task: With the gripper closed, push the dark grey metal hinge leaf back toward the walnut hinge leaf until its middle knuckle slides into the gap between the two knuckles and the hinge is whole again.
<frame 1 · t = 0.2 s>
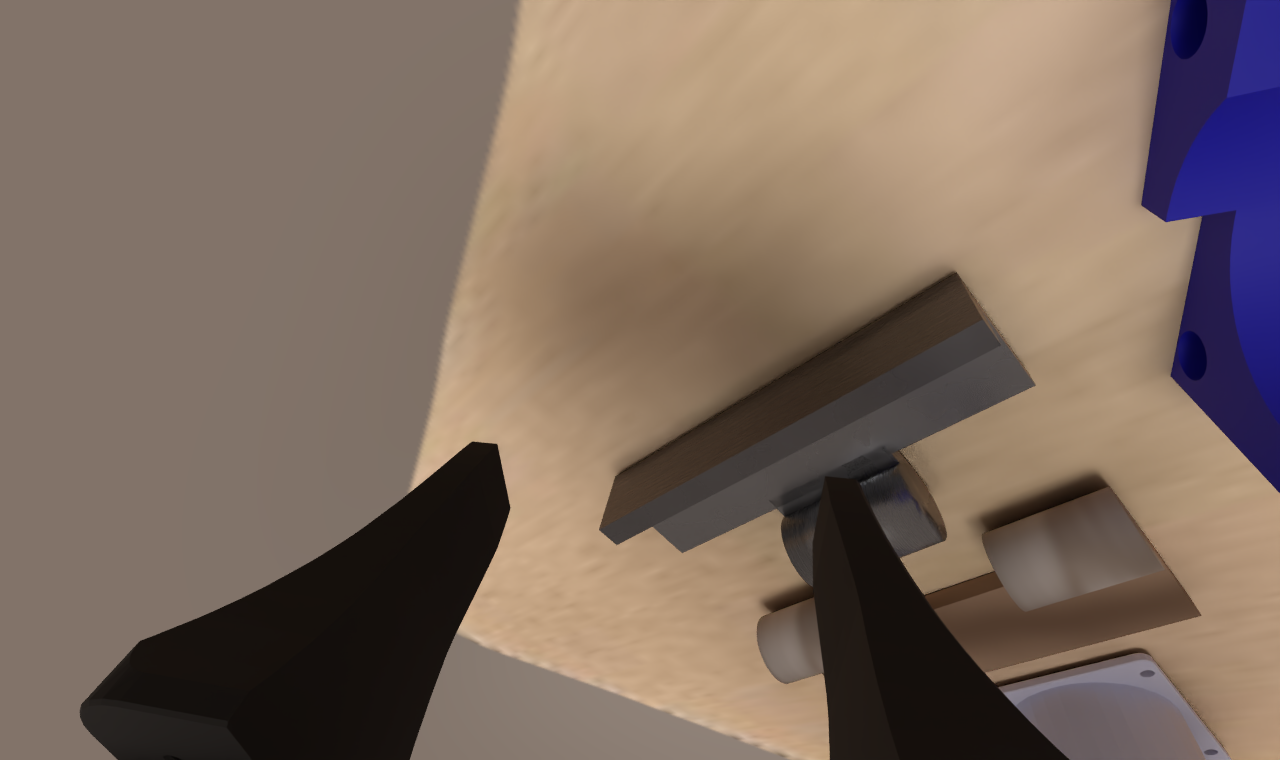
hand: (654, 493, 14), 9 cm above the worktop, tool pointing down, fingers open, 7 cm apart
blue u-shaped bracket: (1232, 183, 17), on the worktop
fixed leaf: (922, 565, 26), on the worktop
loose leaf: (822, 486, 23), point 2 cm above the worktop, slide at 5.0 cm
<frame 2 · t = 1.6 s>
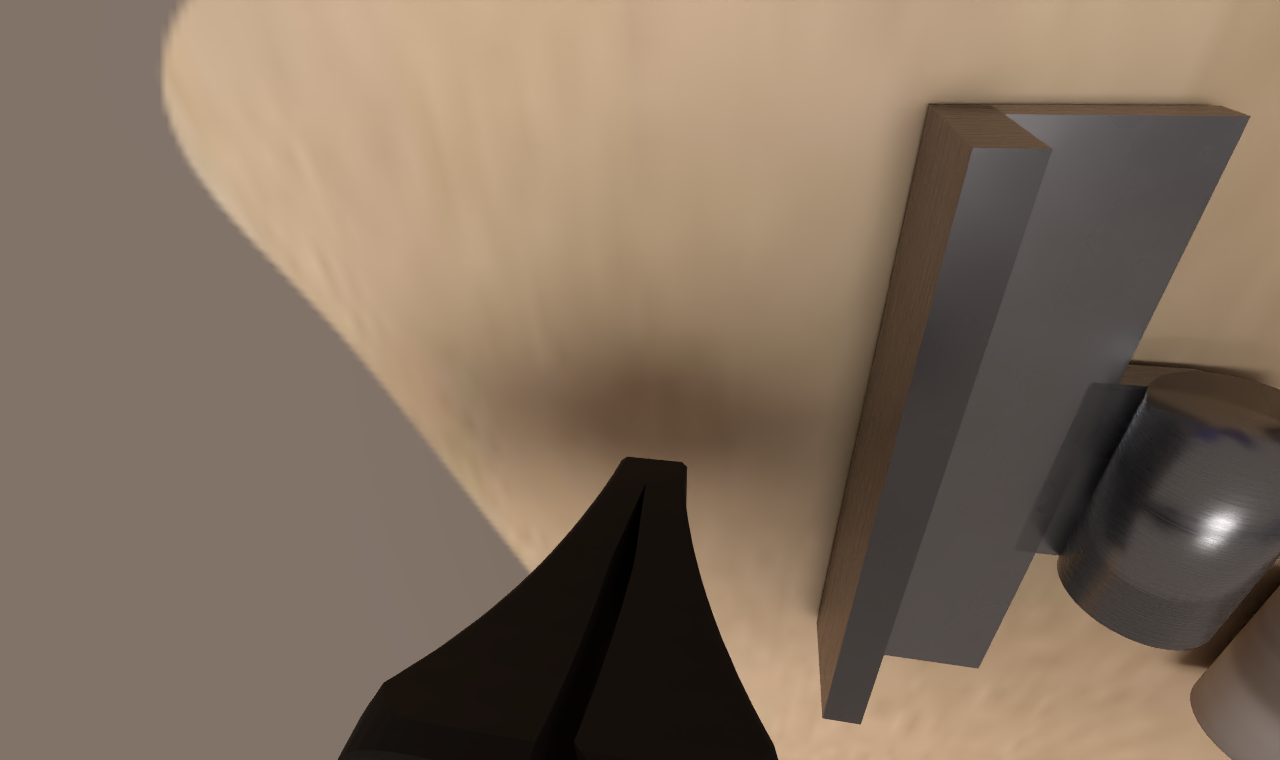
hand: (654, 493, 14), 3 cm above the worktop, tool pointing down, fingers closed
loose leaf: (1055, 498, 13), point 2 cm above the worktop, slide at 5.0 cm
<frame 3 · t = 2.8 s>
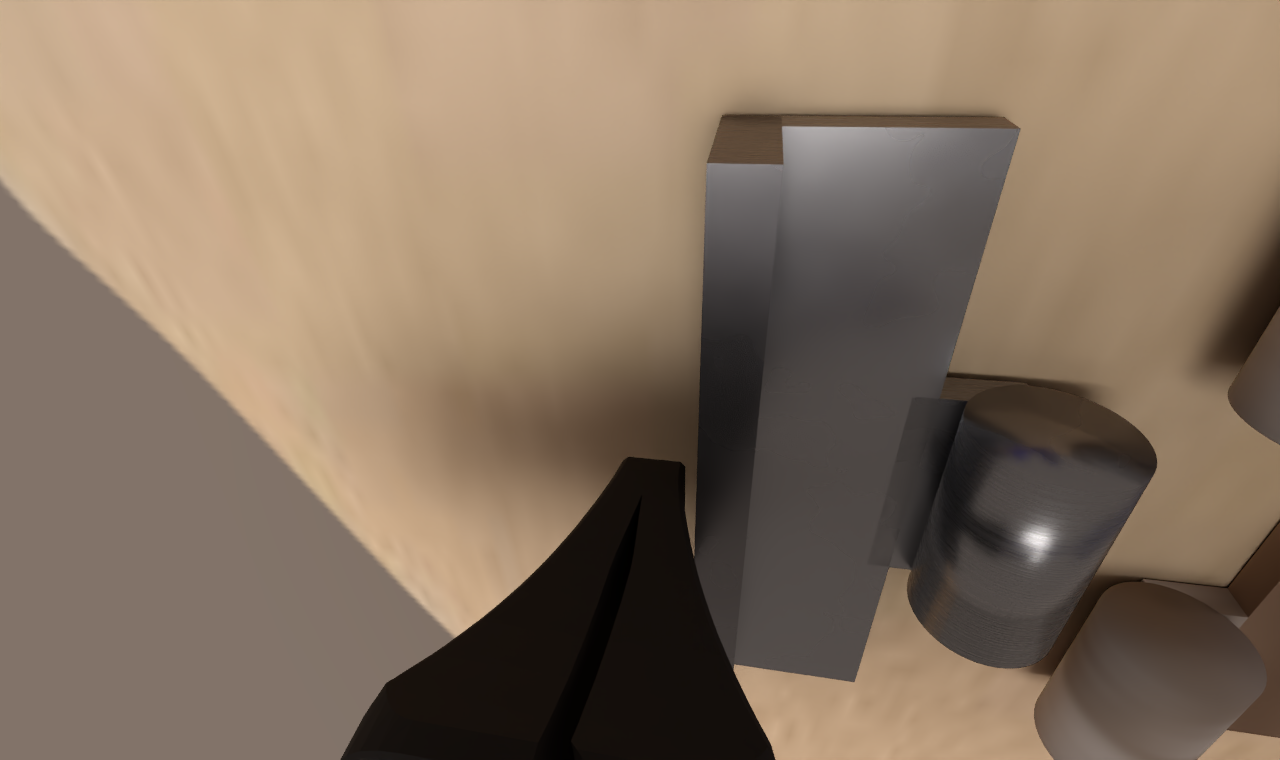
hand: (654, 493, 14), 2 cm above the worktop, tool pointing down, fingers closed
fixed leaf: (1202, 488, 13), on the worktop
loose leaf: (887, 513, 13), point 2 cm above the worktop, slide at 4.3 cm, touching gripper
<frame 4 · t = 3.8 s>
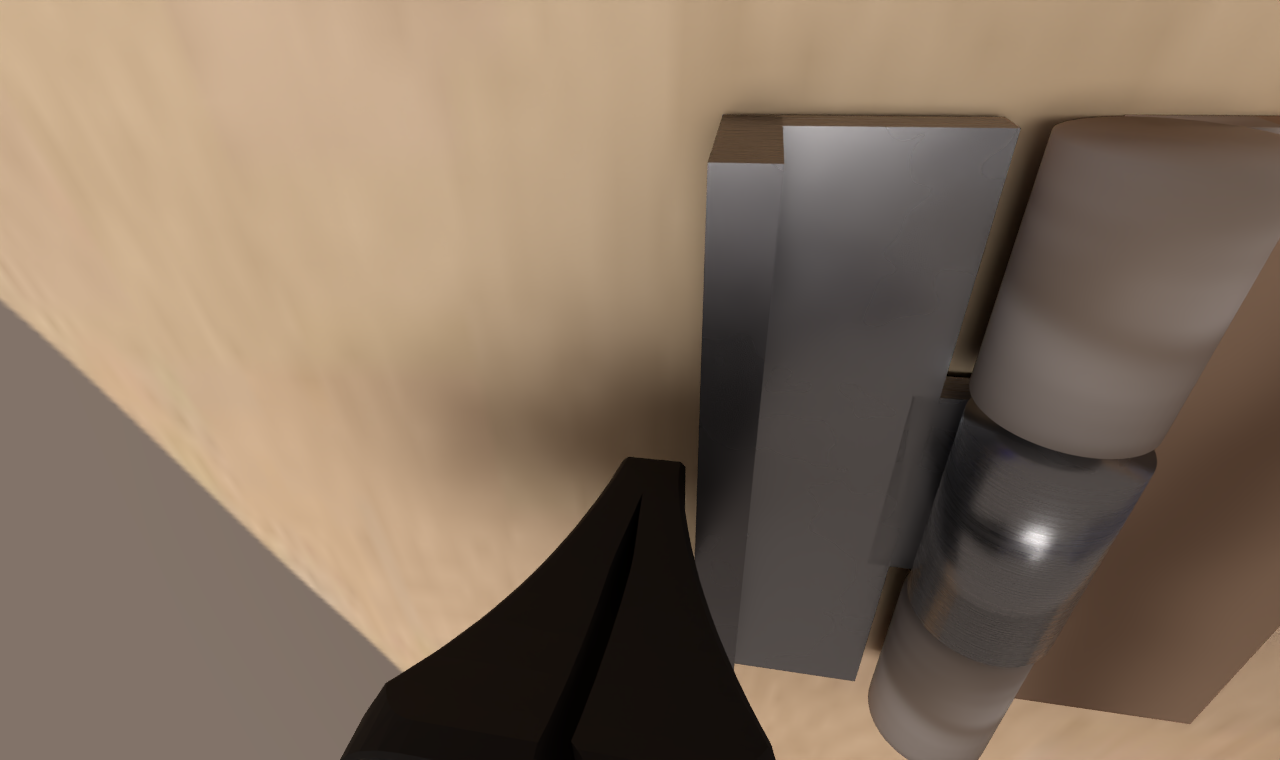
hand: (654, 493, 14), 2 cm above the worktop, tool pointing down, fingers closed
fixed leaf: (988, 468, 14), on the worktop
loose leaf: (888, 512, 13), point 2 cm above the worktop, slide at 0.0 cm, touching gripper
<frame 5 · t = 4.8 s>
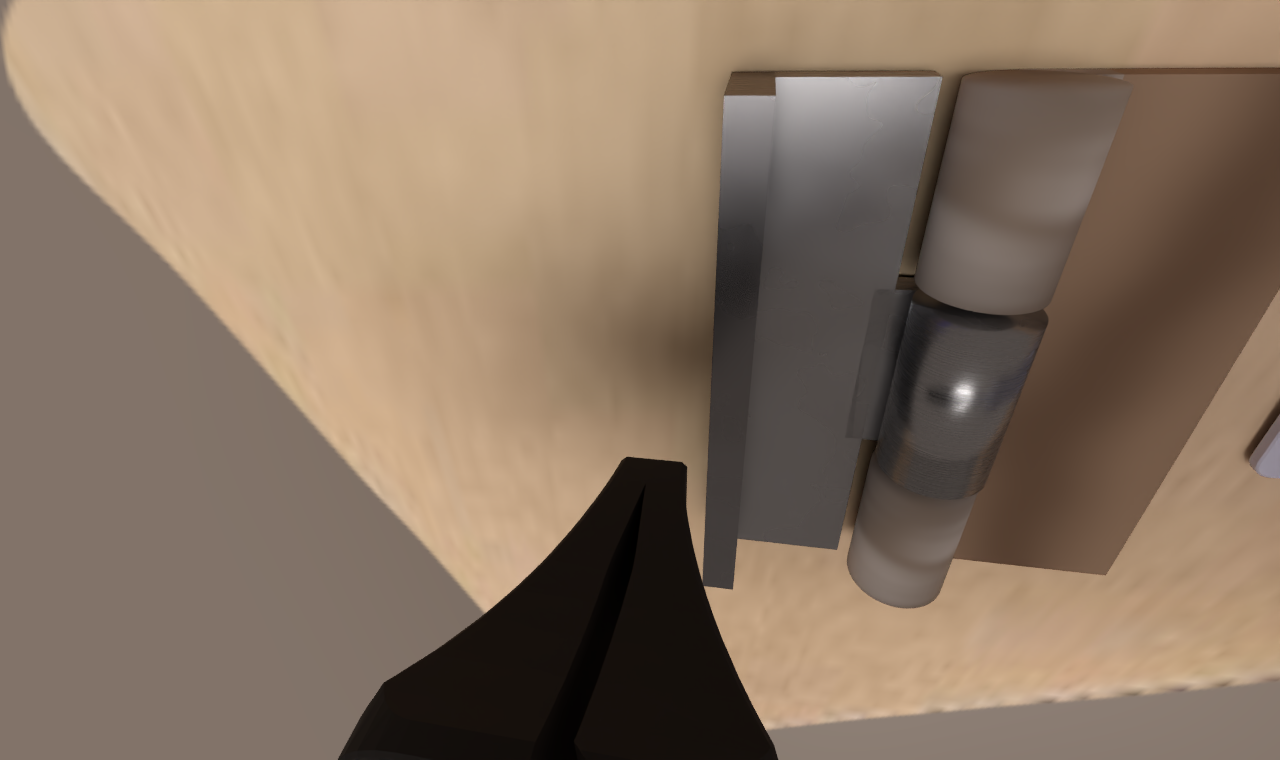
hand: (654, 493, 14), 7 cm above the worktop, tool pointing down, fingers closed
fixed leaf: (936, 355, 18), on the worktop
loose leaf: (857, 383, 17), point 2 cm above the worktop, slide at 0.0 cm
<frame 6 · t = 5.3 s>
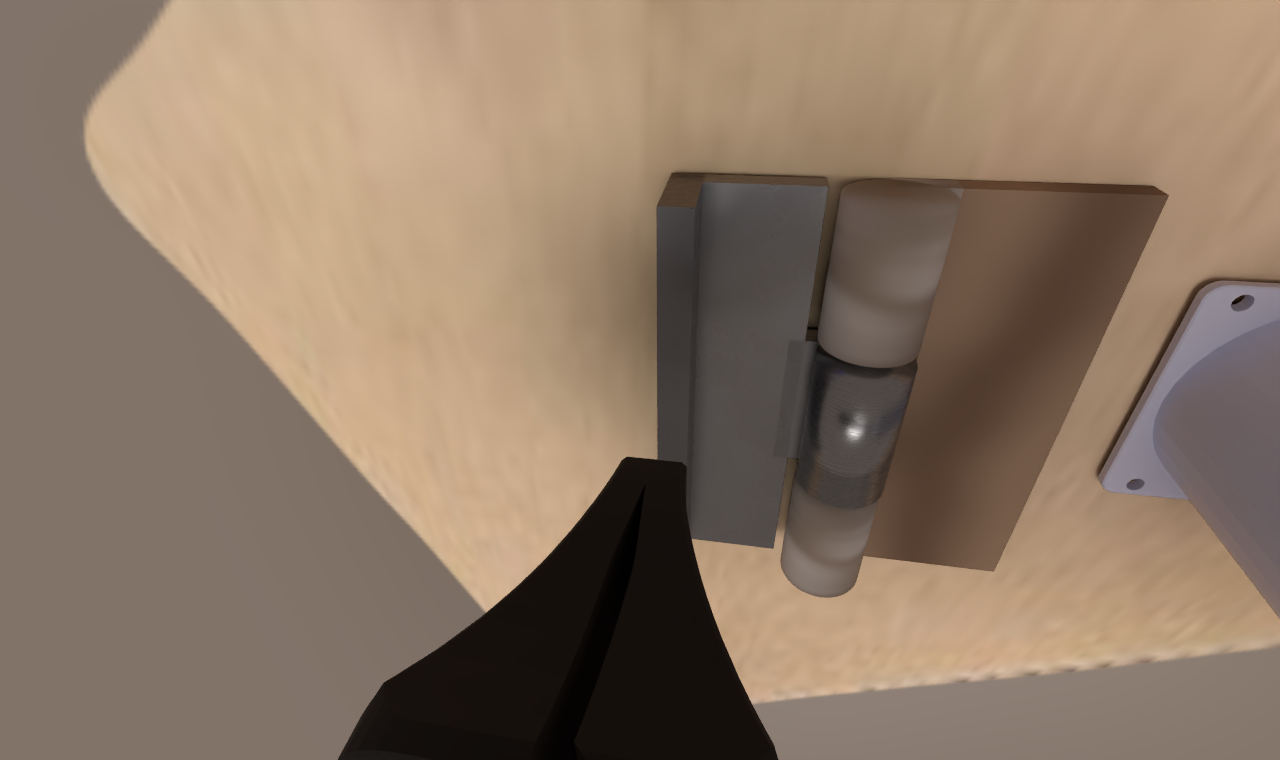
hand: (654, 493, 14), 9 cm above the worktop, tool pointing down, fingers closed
fixed leaf: (846, 390, 22), on the worktop
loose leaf: (778, 414, 21), point 2 cm above the worktop, slide at 0.0 cm
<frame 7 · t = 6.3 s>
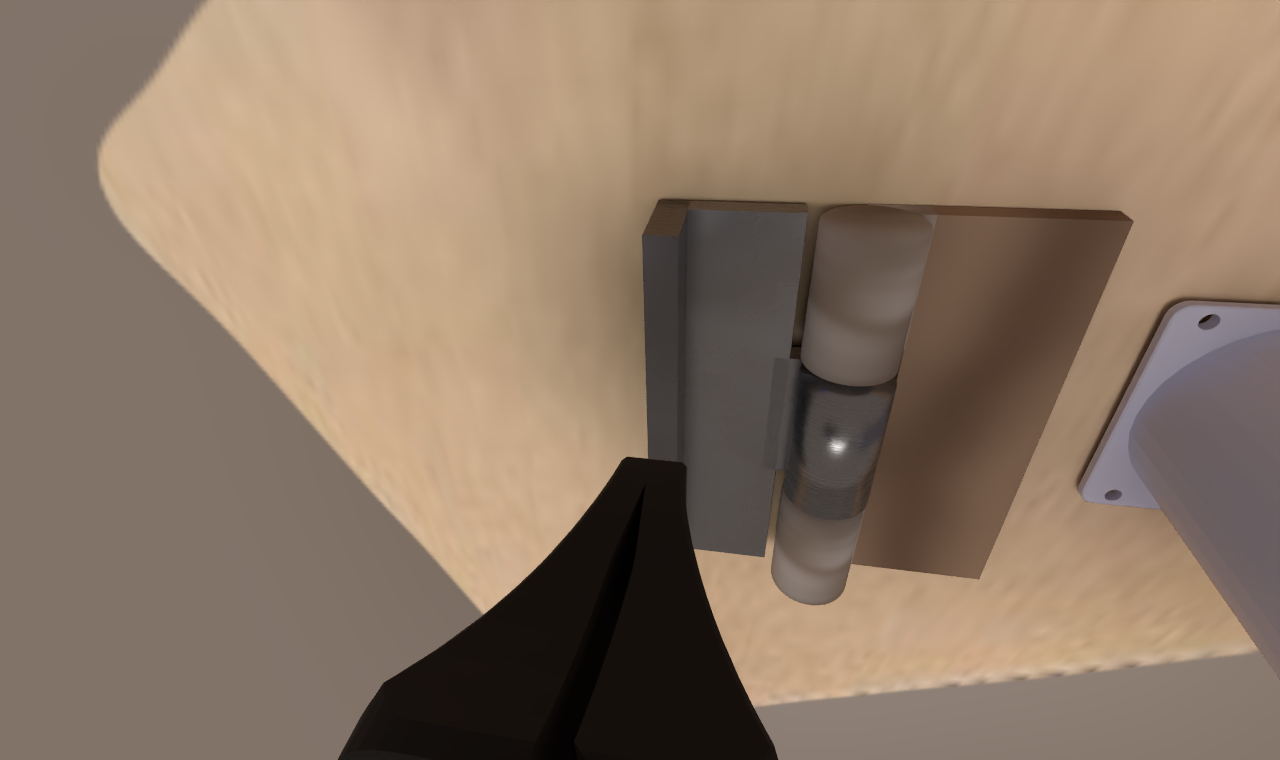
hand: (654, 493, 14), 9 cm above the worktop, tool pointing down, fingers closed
fixed leaf: (831, 405, 23), on the worktop
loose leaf: (764, 429, 22), point 2 cm above the worktop, slide at 0.0 cm
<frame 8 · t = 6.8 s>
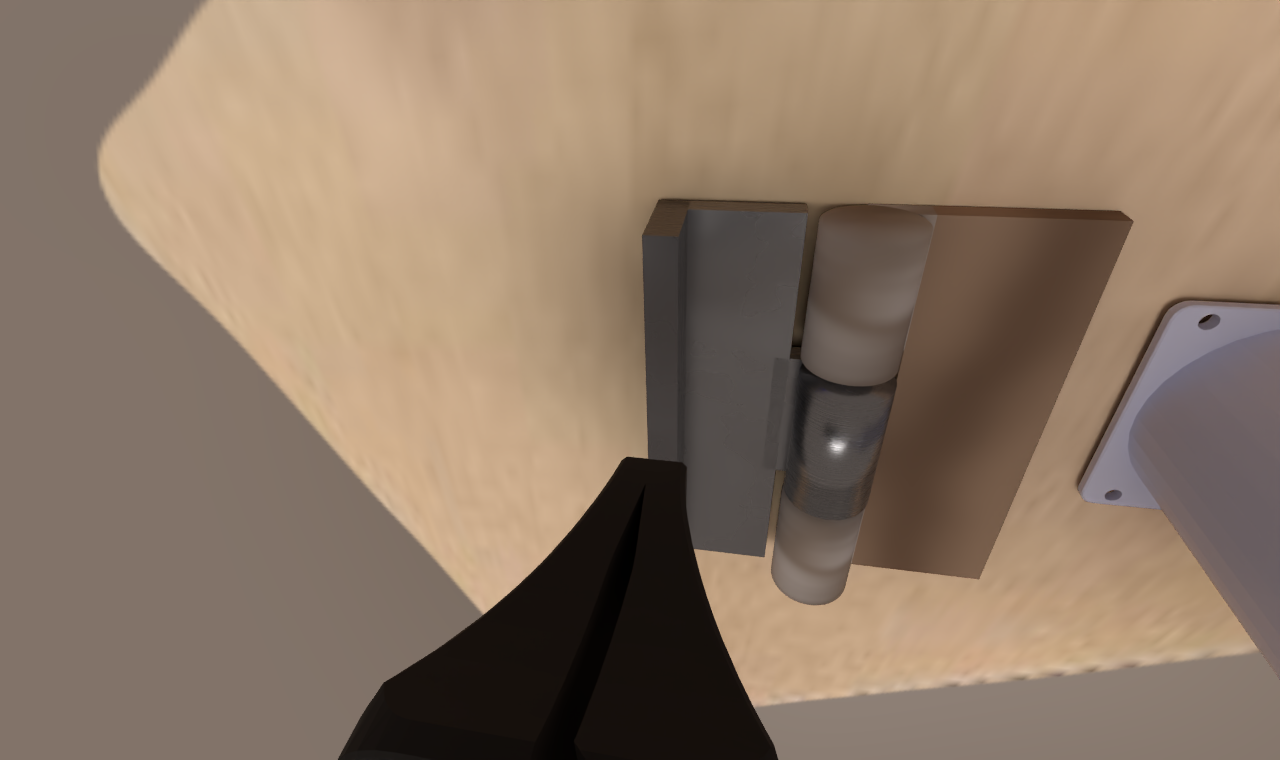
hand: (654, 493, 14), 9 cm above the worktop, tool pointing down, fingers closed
fixed leaf: (831, 405, 23), on the worktop
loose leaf: (764, 429, 22), point 2 cm above the worktop, slide at 0.0 cm
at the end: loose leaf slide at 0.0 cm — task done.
